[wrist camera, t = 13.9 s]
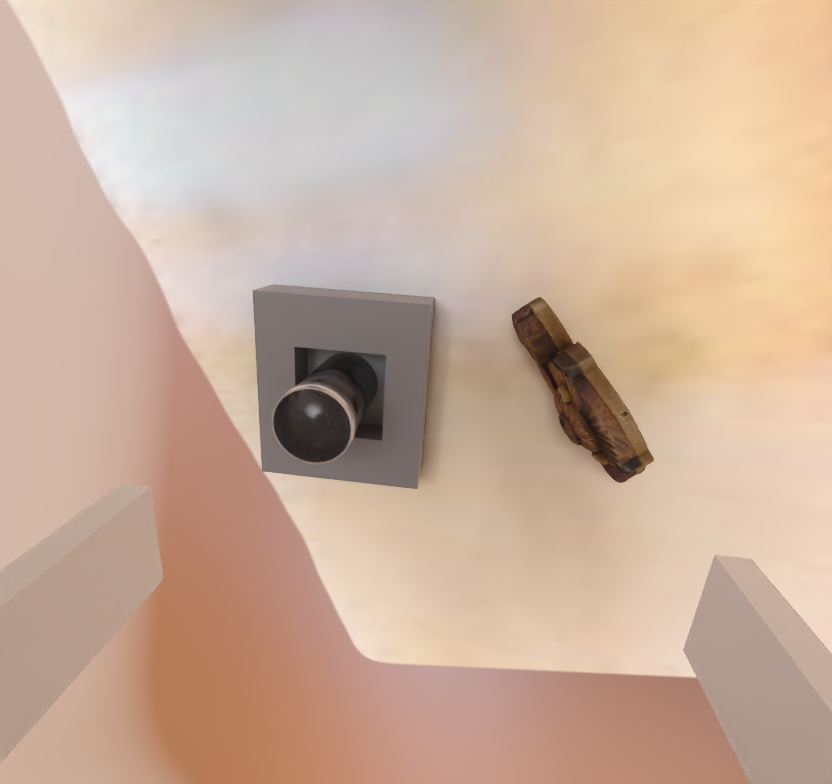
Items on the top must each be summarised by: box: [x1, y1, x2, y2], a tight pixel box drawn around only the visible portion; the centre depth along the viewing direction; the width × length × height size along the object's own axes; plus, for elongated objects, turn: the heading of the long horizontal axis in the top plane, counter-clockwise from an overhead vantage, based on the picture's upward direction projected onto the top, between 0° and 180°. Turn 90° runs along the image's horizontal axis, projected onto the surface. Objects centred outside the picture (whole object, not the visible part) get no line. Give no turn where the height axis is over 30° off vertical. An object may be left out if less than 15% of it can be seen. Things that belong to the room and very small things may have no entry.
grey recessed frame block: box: [253, 285, 434, 489], centre depth 41 cm, size 16×14×4 cm
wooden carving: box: [512, 297, 654, 483], centre depth 36 cm, size 16×5×10 cm, turn 40°
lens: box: [271, 353, 377, 464], centre depth 37 cm, size 6×6×10 cm
